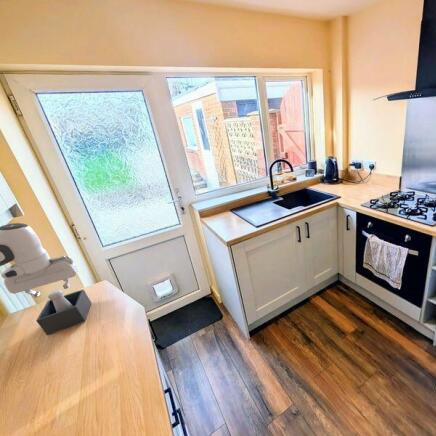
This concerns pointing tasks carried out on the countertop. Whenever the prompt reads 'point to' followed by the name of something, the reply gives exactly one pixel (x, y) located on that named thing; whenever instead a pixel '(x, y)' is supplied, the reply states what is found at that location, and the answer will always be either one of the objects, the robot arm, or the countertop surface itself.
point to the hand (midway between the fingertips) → (52, 292)
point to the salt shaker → (59, 301)
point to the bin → (65, 313)
